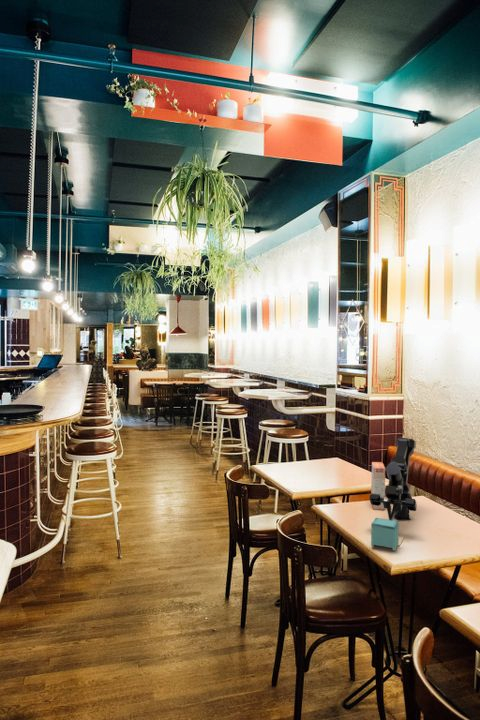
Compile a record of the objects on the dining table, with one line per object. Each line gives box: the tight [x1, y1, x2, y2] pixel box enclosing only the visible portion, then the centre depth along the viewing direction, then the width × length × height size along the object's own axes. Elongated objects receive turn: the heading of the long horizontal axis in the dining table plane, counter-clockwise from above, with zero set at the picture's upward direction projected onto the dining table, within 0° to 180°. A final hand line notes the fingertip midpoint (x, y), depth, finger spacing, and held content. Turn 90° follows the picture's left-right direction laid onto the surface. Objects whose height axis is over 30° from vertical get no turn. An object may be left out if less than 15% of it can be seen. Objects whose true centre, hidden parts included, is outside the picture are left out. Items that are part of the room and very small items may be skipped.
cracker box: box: [370, 461, 386, 511], centre depth 246 cm, size 14×6×21 cm, turn 168°
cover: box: [370, 517, 400, 551], centre depth 193 cm, size 8×9×9 cm
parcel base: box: [396, 536, 404, 548], centre depth 200 cm, size 10×10×1 cm
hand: (390, 520), depth 203 cm, fingers closed
